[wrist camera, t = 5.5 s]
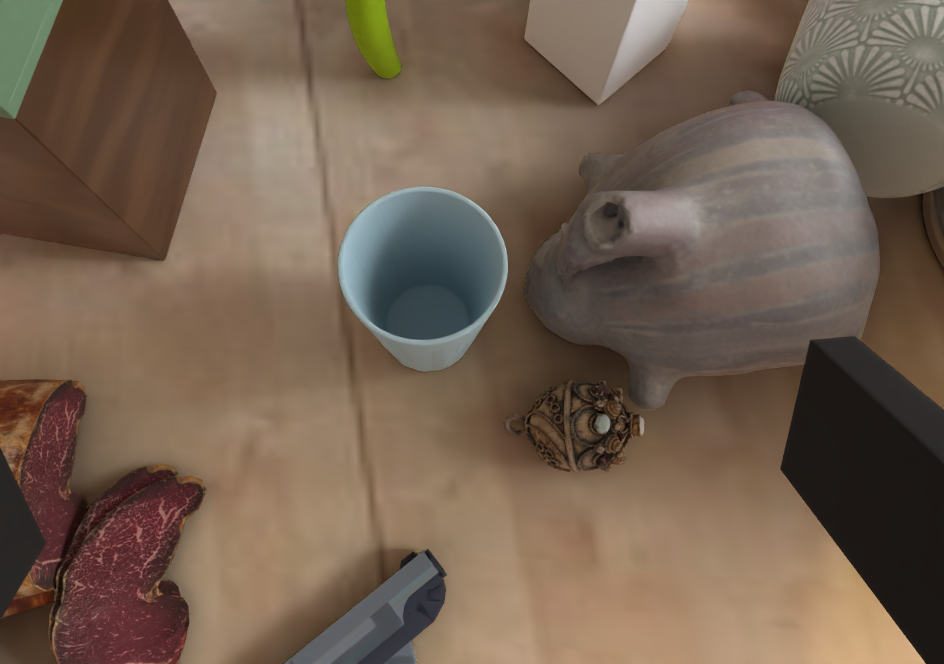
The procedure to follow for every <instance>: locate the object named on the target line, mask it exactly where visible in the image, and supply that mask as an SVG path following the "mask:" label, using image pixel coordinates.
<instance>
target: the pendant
mask: <svg viewBox="0 0 944 664" xmlns="http://www.w3.org/2000/svg"><path fill="white" fill-rule="evenodd" d="M622 392H623V391H622V388H621V387H619V388H618V389H616V388H610V387H606V381H604V380H602V379H601V381H600V383H598V382H597V385H596V384H593V383H589V382H576V381H574V380H571V381H569V382H564V383H563V384H561V385H560V386H557V387H554V386H552V387H550V388H548V389H547V390H545V391H544V392H542V394H540V395H539V396H538V397H537V398H536V400H535V401H534V404H533V407H532V409H531V410H530V411H529V412H528V414H527V417H524V416H521V415H516V414H511V415H509V416H507V417H506V419H505V421H504V423H503V424H504V427H505V430H506V431H507V432H508V433H509V434H511V435H515V436H525V435H527V437H528V439H529V440H530V442H531V444H532V446H533V448H534V450H535V451H536V453H537V454H538V456H539V457H540V458H541V459H542V460H543V461H546V463H547V464H548V465H550V466H551V467H554V468H556V469H559V470H562V471H567V472H570V470H573V471H574V472H580V471H581V470H583V471H590V470H594V469H598V468H601V469H603V470H605V471H606V472H608V471H610V469H611V467H610V464H618V465H620V464H623V463H626V459H625V457H624V449H623V448H624V447H625V446H626V444H627V443H628V440H629V438H634V436H641V435H642V434H643V433H644V419H643V418H642V417H641V416H640V415H639V414H638V415H633V412H630V413H629V412H628V410H627V408H626V407H625V405H624V404H623V403H622V400H623V397H622ZM512 421H518V422H519V423H521V424H522V425H523V427H524V429H523V430H515V429H514V428H512V427H511V426H510V424H509V422H512Z"/></svg>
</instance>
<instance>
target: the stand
mask: <svg viewBox="0 0 944 664" xmlns="http://www.w3.org/2000/svg"><path fill="white" fill-rule="evenodd" d="M216 94H217V92H216V90H215V88H214V86H213V85H212V83H211V81H210V79H209V77H208V75H207V73H206V71H205V69H204V67H203V66H202V64H201V62H200V60H199V58H198V56H197V54H196V52H195V50H194V48H193V47H192V45H191V43H190V41H189V39H188V37H187V35H186V33H185V31H184V29H183V28H182V26H181V24H180V22H179V20H178V18H177V16H176V14H175V12H174V10H173V9H172V7H171V5H170V3H169V1H168V0H63V1H62V4H61V6H60V9H59V11H58V14H57V16H56V19H55V21H54V24H53V26H52V29H51V31H50V34H49V36H48V39H47V41H46V44H45V46H44V48H43V51H42V53H41V56H40V58H39V61H38V63H37V66H36V68H35V71H34V73H33V76H32V78H31V81H30V83H29V86H28V88H27V91H26V93H25V96H24V98H23V101H22V103H21V106H20V108H19V111H18V113H17V115H16V118H15V119H10V118H4V117H0V233H2V234H8V235H14V236H20V237H26V238H33V239H39V240H45V241H51V242H57V243H63V244H69V245H75V246H81V247H87V248H93V249H99V250H105V251H111V252H117V253H123V254H129V255H135V256H141V257H147V258H153V259H159V260H165V258H166V254H167V251H168V248H169V245H170V242H171V238H172V235H173V232H174V229H175V225H176V222H177V219H178V216H179V213H180V209H181V206H182V203H183V200H184V197H185V193H186V190H187V187H188V184H189V180H190V177H191V174H192V171H193V168H194V164H195V161H196V158H197V155H198V152H199V148H200V145H201V142H202V139H203V135H204V132H205V129H206V126H207V123H208V119H209V116H210V113H211V110H212V107H213V103H214V100H215V97H216Z"/></svg>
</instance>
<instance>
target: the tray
mask: <svg viewBox="0 0 944 664" xmlns="http://www.w3.org/2000/svg"><path fill="white" fill-rule="evenodd" d="M62 1H63V0H0V117H4V118H10V119H15V118H16V115H17V113H18V111H19V108H20V106H21V103H22V101H23V98H24V96H25V93H26V91H27V88H28V86H29V83H30V81H31V78H32V76H33V73H34V71H35V68H36V66H37V63H38V61H39V58H40V56H41V53H42V51H43V48H44V46H45V44H46V41H47V39H48V36H49V34H50V31H51V29H52V26H53V24H54V21H55V19H56V16H57V14H58V11H59V9H60V6H61V4H62Z"/></svg>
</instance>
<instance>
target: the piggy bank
mask: <svg viewBox="0 0 944 664" xmlns="http://www.w3.org/2000/svg"><path fill="white" fill-rule="evenodd" d="M730 104H731V106H728V107H723V108H719V109H715V110H712V111H708V112H705V113H703V114H700V115H697V116H694V117H692V118H690V119H688V120H685V121H682V122H680V123H678V124H676V125H674V126H672V127H669V128H667V129H665V130H663V131H661V132H660V133H658V134H657V135H655V136H653V137H652V138H650V139H648V140H646V141H644V142H643V143H641V144H640V145H638V146H637V147H635V148H633V149H632V150H630V151H629V152H627V153H623V154H601V153H589V154H588V155H587V156H585V157H584V158H583V160H582V162H581V164H580V166H579V174H580V175H581V176H582V178H583V180H584V182H585V184H586V187H587V190H588V193H587V195H586V196H585V198H584V200H583V201H582V202H580V203H579V206H578V208H577V210H576V211H575V212H574V214H573V215H572V217H571V218H570V220H569V221H568V222H567V223H566V222H564V223H562V225H561V226H562V228H561V229H560V230H559V231H557V232H556V233H554V234H553V235H552V236H550V237H549V238H548V239H547V240H546V241H545V242H544V243H543V244H542V245H541V246H540V248H539V249H538V251H537V252H536V253H535V255H534V256H533V258H532V260H531V263H530V264H529V269H528V272H527V273H526V278H525V279H526V282H525V288H524V289H525V292H524V294H525V297H526V301H527V303H528V305H529V306H530V307H531V308H532V311H533V312H534V313H535V315H537V317H538V318H539V320H540V321H541V322H542V323H543V324H544V325H545V327H546V328H547V329H549V330H550V331H552V332H554V333H555V334H557V335H558V336H559V337H561V338H563V339H565V340H567V341H570V342H572V343H576V344H579V345H599V346H603V347H607V348H609V349H611V350H613V351H614V352H616V353H618V354H620V355H621V356H622V357H624V358H625V359H626V360H627V362H628V364H629V369H630V374H629V378H628V395H629V398H630V399H631V400H632V402H633V403H634V404H636V405H637V406H639V407H641V408H645V409H657V408H660V407H662V406H663V405H664V404H665V403H666V400H667V397H668V395H669V393H670V391H671V389H672V387H673V386H674V384H675V383H676V382H677V381H678V380H679V379H681V378H684V377H690V376H723V375H735V374H742V373H750V372H753V371H758V370H764V369H772V368H782V367H789V366H798V365H804V364H805V360H806V355H807V351H808V347H809V342H810V340H815V339H826V338H837V337H849V336H855V337H856V338H858V339H859V340H860V339H861V337H862V335H863V332H864V329H865V325H866V321H867V318H868V315H869V311H870V308H871V304H872V301H873V297H874V293H875V290H876V286H877V283H878V279H879V274H880V252H879V240H878V230H877V226H876V223H875V219H874V217H873V215H872V212H871V209H870V206H869V203H868V200H867V197H866V194H865V192H864V189H863V187H862V184H861V181H860V179H859V176H858V173H857V171H856V169H855V167H854V165H853V163H852V161H851V159H850V157H849V155H848V153H847V152H846V150H845V148H844V146H843V145H842V143H841V141H840V139H839V138H838V136H837V135H836V134H835V132H834V131H833V130H832V129H831V127H830V126H829V125H828V124H827V123H826V122H825V121H823V120H822V119H821V118H819V117H818V116H816V115H815V114H813V113H812V112H811V111H809V110H808V109H806V108H804V107H802V106H799V105H796V104H793V103H787V102H782V101H769V100H768V99H767V98H766V97H764V96H763V95H762V94H760V93H758V92H755V91H751V90H742V91H739V92H737V93H735V94H734V95H733V97H732V98H731V100H730Z"/></svg>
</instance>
